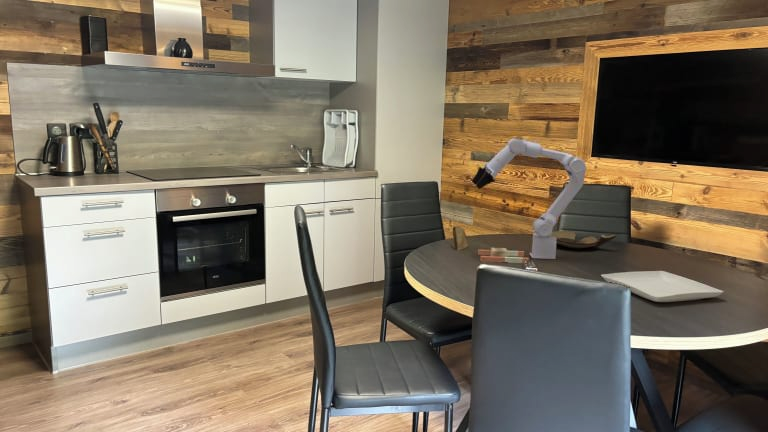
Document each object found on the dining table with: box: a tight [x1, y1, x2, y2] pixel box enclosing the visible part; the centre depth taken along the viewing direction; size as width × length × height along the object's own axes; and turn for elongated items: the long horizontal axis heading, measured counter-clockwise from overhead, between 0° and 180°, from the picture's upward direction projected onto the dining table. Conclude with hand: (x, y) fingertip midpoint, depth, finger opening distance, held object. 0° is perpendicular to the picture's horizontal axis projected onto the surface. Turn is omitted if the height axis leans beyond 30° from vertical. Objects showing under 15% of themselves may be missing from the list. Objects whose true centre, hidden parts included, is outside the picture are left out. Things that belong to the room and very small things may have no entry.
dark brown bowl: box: [550, 230, 617, 249], centre depth 254 cm, size 22×30×8 cm
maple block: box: [490, 247, 509, 257], centre depth 231 cm, size 6×6×4 cm
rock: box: [452, 225, 470, 251], centre depth 249 cm, size 11×9×10 cm
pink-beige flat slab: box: [477, 249, 530, 264], centre depth 231 cm, size 19×13×2 cm
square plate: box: [600, 270, 725, 303], centre depth 190 cm, size 27×27×4 cm
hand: (475, 185), depth 232 cm, fingers open, 7 cm apart
